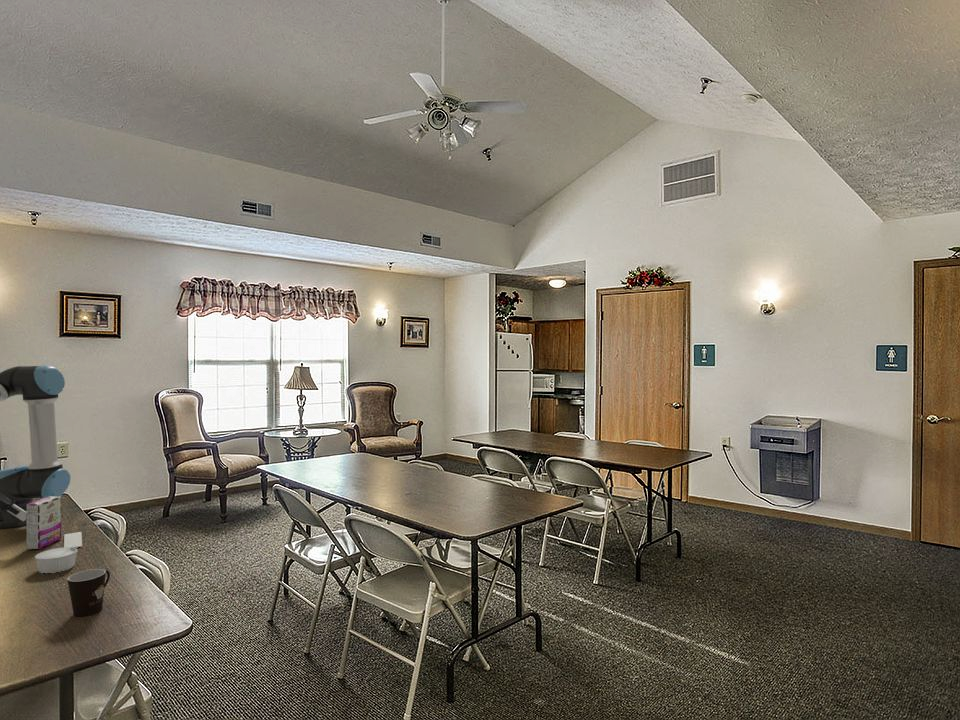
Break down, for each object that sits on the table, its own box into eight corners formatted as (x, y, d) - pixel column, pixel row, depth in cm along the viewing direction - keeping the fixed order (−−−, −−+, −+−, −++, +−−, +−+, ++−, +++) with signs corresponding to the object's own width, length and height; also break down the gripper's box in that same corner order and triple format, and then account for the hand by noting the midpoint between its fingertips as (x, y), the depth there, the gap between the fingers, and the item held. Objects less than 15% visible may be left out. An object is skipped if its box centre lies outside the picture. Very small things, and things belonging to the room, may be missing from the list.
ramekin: (81, 568, 191) (81, 552, 191) (39, 578, 183) (39, 561, 183) (73, 560, 199) (72, 544, 198) (32, 569, 190) (31, 553, 190)
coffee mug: (78, 622, 152) (76, 583, 152) (62, 614, 157) (61, 577, 157) (124, 604, 162) (123, 569, 162) (108, 598, 167) (107, 563, 167)
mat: (64, 536, 224) (64, 534, 224) (81, 533, 228) (81, 531, 228) (63, 550, 208) (63, 548, 208) (82, 547, 211) (82, 545, 211)
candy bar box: (48, 539, 220) (49, 495, 220) (61, 539, 220) (62, 496, 220) (24, 549, 209) (25, 503, 208) (38, 550, 209) (39, 504, 208)
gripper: (-43, 483, 205) (19, 522, 215) (-50, 490, 194) (16, 531, 204) (-24, 466, 208) (37, 505, 218) (-29, 472, 197) (34, 513, 207)
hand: (26, 517), depth 211 cm, fingers closed
